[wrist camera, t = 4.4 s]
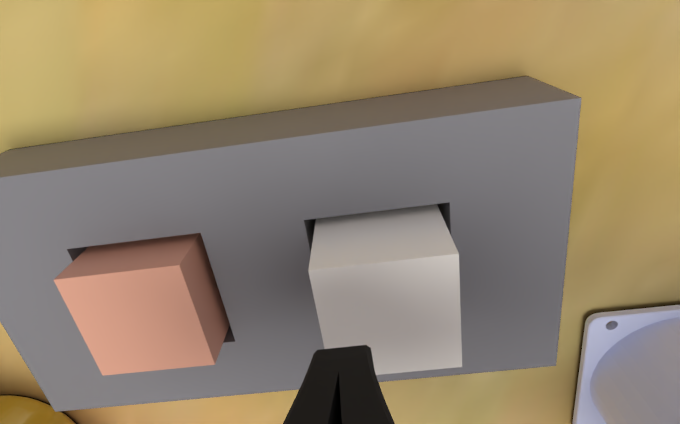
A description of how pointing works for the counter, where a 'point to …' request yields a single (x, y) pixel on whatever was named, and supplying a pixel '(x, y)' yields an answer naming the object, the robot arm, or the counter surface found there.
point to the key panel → (297, 227)
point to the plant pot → (29, 412)
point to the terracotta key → (146, 304)
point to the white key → (389, 287)
